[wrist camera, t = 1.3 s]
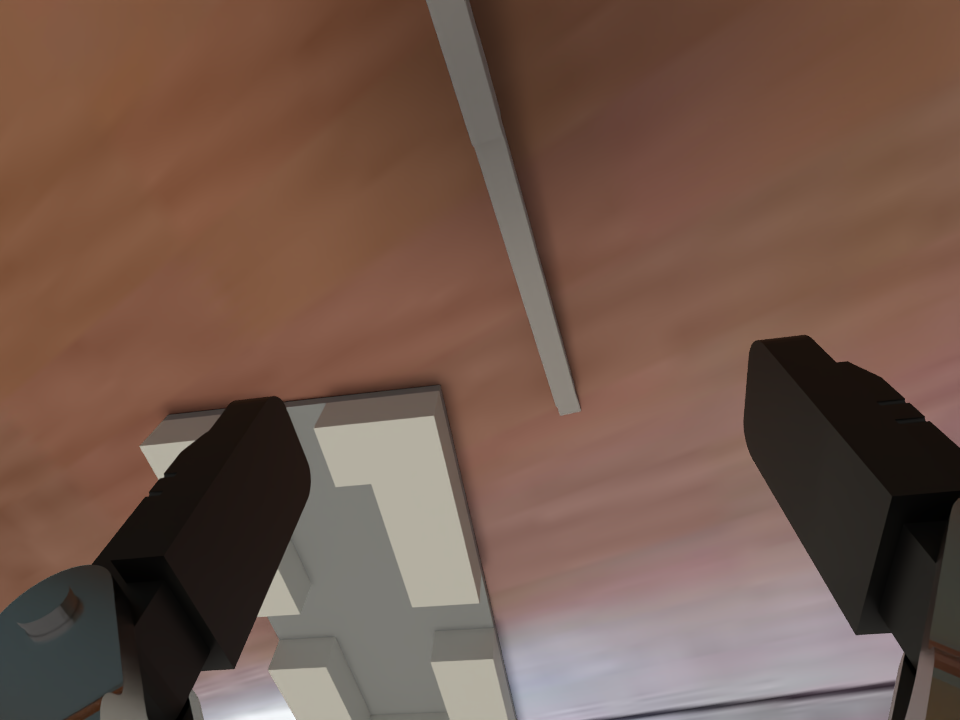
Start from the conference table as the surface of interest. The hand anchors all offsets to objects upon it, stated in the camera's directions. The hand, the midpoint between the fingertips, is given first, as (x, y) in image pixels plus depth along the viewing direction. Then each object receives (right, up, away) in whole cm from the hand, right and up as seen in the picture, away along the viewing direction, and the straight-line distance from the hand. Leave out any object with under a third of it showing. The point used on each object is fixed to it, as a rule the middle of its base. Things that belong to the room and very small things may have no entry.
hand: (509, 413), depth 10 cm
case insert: (-7, -14, +25) cm, 29 cm away
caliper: (+1, +7, +13) cm, 15 cm away
